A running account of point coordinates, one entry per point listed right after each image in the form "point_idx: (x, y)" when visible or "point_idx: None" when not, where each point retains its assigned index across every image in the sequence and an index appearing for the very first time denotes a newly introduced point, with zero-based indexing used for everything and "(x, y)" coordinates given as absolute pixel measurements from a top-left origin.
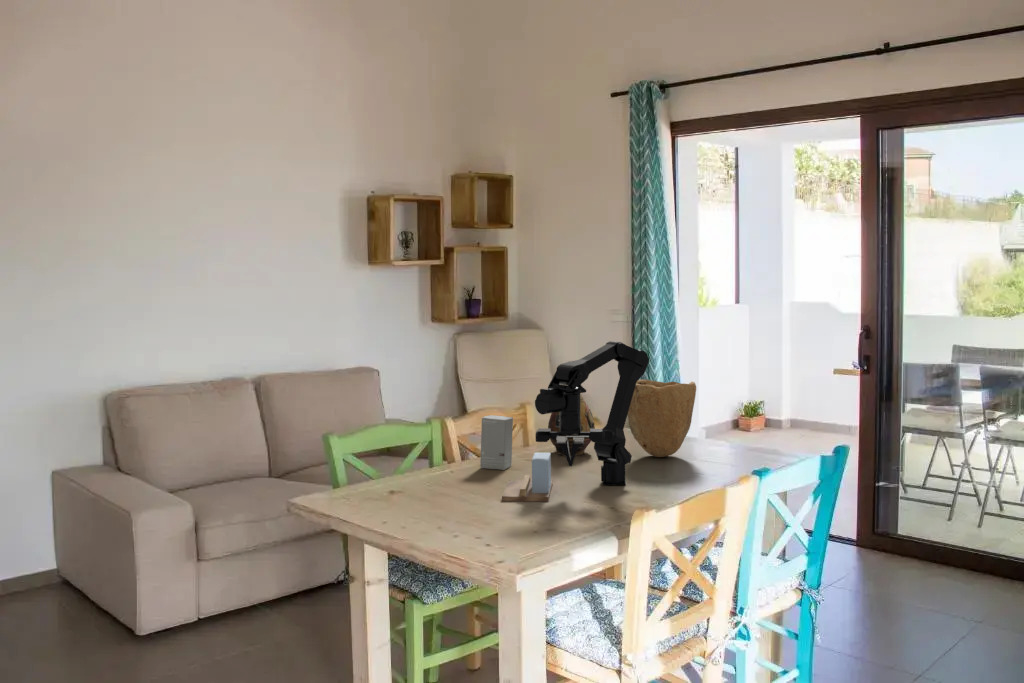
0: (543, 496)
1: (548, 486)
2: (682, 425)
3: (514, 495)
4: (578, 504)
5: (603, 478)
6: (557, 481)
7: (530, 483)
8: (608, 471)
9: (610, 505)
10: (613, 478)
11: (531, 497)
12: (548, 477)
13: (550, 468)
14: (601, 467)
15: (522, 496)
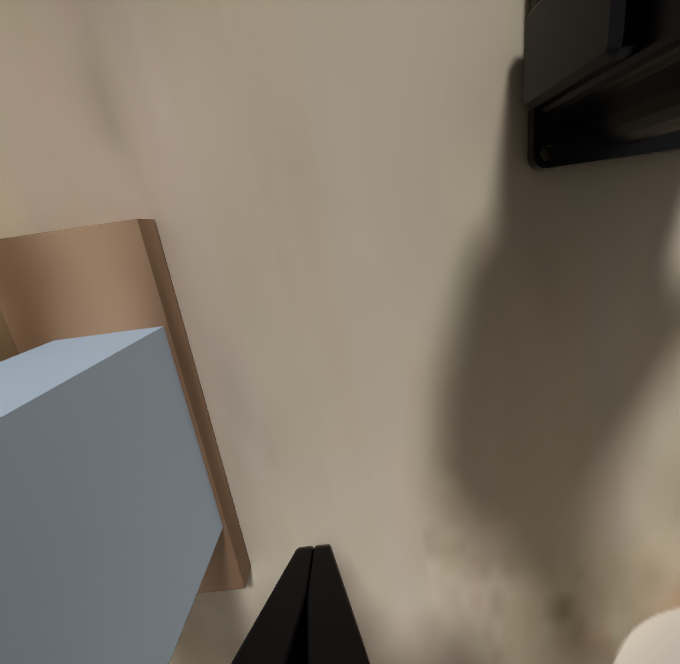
0: (216, 584)
1: (207, 562)
2: None
3: None
4: (403, 586)
5: (558, 107)
6: (150, 85)
7: (15, 331)
8: (666, 103)
9: (557, 580)
10: (655, 133)
11: None
12: (182, 628)
13: (91, 435)
14: (616, 34)
15: None
